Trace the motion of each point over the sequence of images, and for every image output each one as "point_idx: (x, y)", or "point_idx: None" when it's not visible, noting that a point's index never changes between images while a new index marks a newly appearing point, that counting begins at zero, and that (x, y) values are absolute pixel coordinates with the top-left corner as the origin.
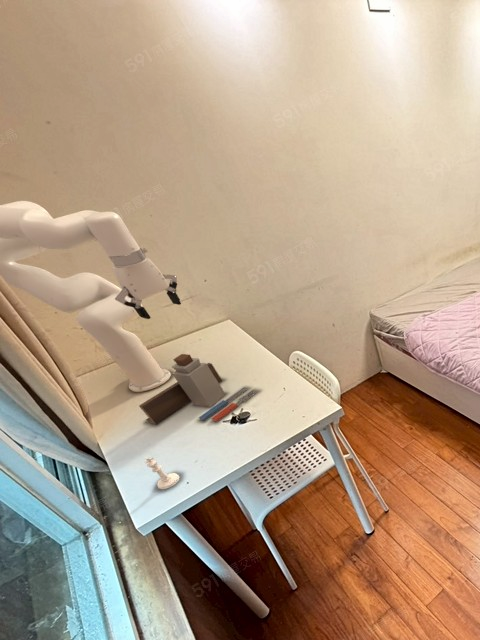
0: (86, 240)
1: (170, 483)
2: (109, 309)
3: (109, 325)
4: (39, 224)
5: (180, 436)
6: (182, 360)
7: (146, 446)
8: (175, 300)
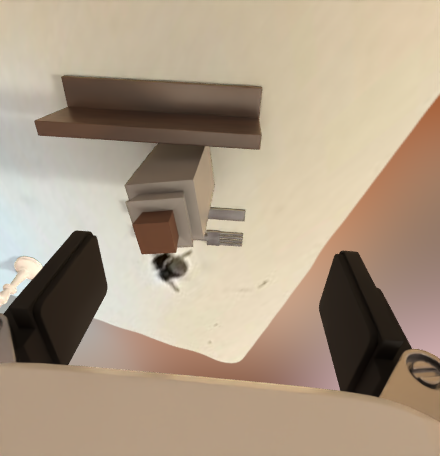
0: None
1: (28, 278)
2: None
3: None
4: None
5: (85, 202)
6: (144, 253)
7: (33, 161)
8: (328, 329)
